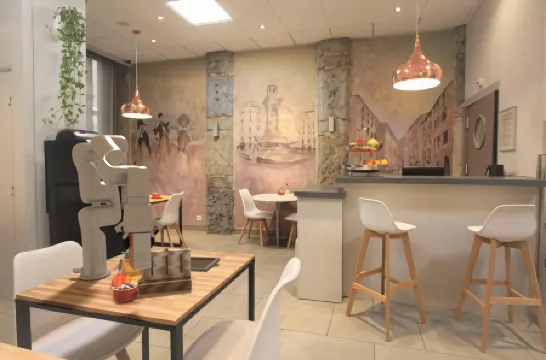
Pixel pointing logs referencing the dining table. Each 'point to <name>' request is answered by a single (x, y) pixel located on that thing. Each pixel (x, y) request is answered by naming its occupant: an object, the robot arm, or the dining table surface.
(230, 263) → the dining table surface
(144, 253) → the small box
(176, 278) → the display ledge
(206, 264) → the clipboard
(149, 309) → the dining table surface
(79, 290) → the dining table surface
